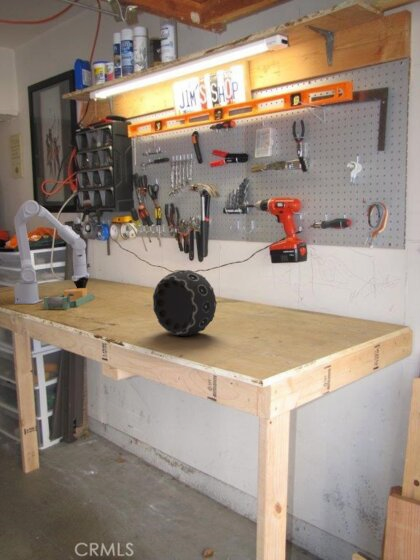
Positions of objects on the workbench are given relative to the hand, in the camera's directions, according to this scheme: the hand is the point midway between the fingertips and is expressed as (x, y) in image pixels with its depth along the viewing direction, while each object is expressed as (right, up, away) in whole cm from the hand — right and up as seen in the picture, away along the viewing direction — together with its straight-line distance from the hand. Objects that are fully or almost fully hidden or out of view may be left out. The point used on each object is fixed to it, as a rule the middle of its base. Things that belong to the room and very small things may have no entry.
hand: (81, 294), depth 229 cm
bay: (-2, -4, -14) cm, 14 cm away
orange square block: (-1, -3, -6) cm, 6 cm away
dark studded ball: (+50, -11, -70) cm, 87 cm away
